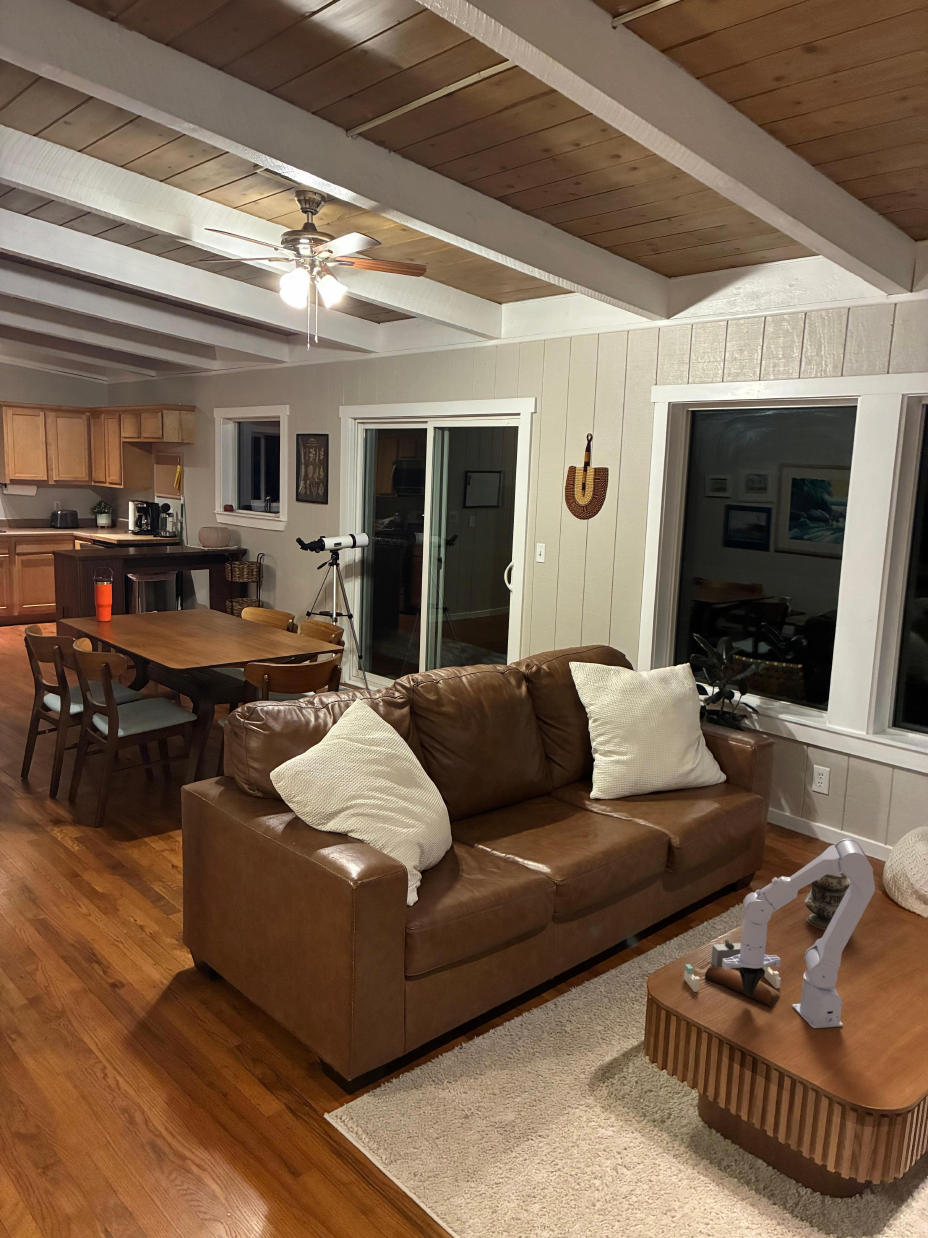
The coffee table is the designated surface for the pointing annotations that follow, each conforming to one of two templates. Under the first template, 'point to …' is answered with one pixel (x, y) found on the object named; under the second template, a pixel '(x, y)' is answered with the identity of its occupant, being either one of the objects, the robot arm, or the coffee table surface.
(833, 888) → the apothecary jar
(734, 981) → the sunglasses case
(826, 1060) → the coffee table surface
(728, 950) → the grey block
